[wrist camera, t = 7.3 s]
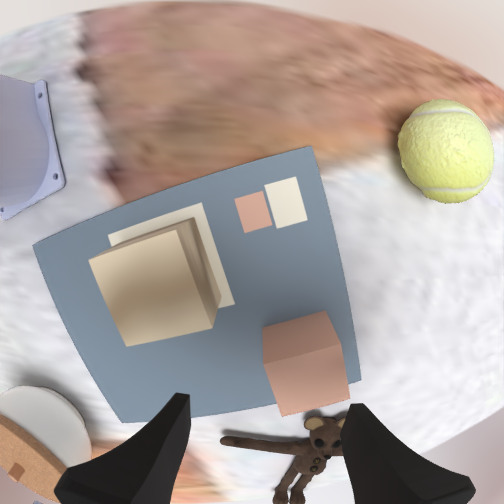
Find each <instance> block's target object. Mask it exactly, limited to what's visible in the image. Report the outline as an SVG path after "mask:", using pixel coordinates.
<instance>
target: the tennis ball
mask: <svg viewBox="0 0 504 504" xmlns="http://www.w3.org/2000/svg"><path fill="white" fill-rule="evenodd" d="M398 138H399V140H398V148H399V150H400V157H401V161H402V168H403V169H404V170H405V172H406V174H407V176H408V178H409V179H410V181H411V182H412V183H413V184H414V185H415V186H417V187H418V188H419V189H420V190H421V191H422V192H423V194H424V195H425V196H426V198H429V199H433V200H436V201H438V202H441V203H442V202H443V203H445V204H446V203H460V202H463V201H466V200H469V199H470V198H472V197H474V196H476V195H477V194H478V193H480V191H481V190H483V188H484V187H485V186H486V184H487V183H488V181H489V179H490V176H491V174H492V170H493V164H494V149H493V144H492V139H491V136H490V134H489V131H488V129H487V127H486V126H485V124H484V123H483V122H482V121H481V119H480V118H479V117H478V116H477V115H476V114H475V113H474V112H473V111H472V110H471V109H469V108H468V107H466V106H464V105H463V104H461V103H458V102H456V101H452V100H444V99H437V100H433V99H432V100H431V101H428V102H426V103H423V104H422V105H420V106H419V107H417V108H416V109H415V110H414V111H413V112H412V114H411V115H410V117H409V118H408V119H407V120H406V121H405V123H404V124H403V126H402V129H401V131H400V132H399V134H398Z"/></svg>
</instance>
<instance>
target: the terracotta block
mask: <svg viewBox="0 0 504 504" xmlns="http://www.w3.org/2000/svg"><path fill="white" fill-rule="evenodd" d="M262 337H263V365H264V368H265V371H266V374H267V377H268V379H269V382H270V385H271V388H272V391H273V394H274V396H275V399H276V402H277V405H278V407H279V410H280V413H281V416H282V417H283V416H287V415H292V414H296V413H300V412H304V411H308V410H312V409H316V408H320V407H323V406H327V405H330V404H334V403H337V402H341V401H344V400H347V399H350V393H349V387H348V381H347V375H346V369H345V363H344V358H343V352H342V347H341V343H340V340H339V338H338V336H337V334H336V332H335V330H334V327H333V325H332V323H331V321H330V319H329V317H328V315H327V312H326V310H324V311H321V312H318V313H314V314H311V315H307V316H304V317H300V318H296V319H293V320H289V321H285V322H282V323H278V324H274V325H270V326H266V327H262Z"/></svg>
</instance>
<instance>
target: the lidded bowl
mask: <svg viewBox="0 0 504 504" xmlns="http://www.w3.org/2000/svg"><path fill="white" fill-rule="evenodd" d="M91 458H92V449H91V443H90V438H89V436H88V433H87V430H86V428H85V422H84V419H83V417H82V416H81V414H80V413H79V411H78V410H77V409H76V408H75V406H74V405H73V404H72V403H71V402H70V401H68V400H67V399H66V398H65V397H64V396H62V395H61V394H59V393H58V392H56V391H54V390H52V389H49V388H46V387H33V386H17V387H13V388H10V389H8V390H6V391H4V392H2V393H0V465H1V466H2V467H3V468H4V469H5V470H6V471H7V472H8V474H7V475H8V476H9V477H10V478H11V479H12V480H13V481H15V482H18V481H19V482H20V483H22V484H23V485H25V486H26V487H28V488H29V489H31V490H32V491H34V492H36V493H37V494H39V495H41V496H43V497H45V498H47V499H49V500H52V501H55V502H58V503H60V502H59V500H58V499H57V497H56V496H55V494H54V488H55V486H56V484H57V483H58V481H59V479H60V477H61V476H62V474H63V473H64V472H65V471H66V469H67V468H68V467H72V466H75V465H78V464H81V463H84V462H87V461H90V460H91Z"/></svg>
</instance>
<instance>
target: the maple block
mask: <svg viewBox="0 0 504 504" xmlns="http://www.w3.org/2000/svg"><path fill="white" fill-rule="evenodd" d="M88 261H89V263H90V266H91V269H92V271H93V274H94V276H95V279H96V281H97V284H98V286H99V288H100V291H101V293H102V295H103V298H104V300H105V302H106V305H107V307H108V309H109V311H110V314H111V316H112V318H113V320H114V322H115V324H116V326H117V329H118V331H119V333H120V335H121V337H122V339H123V341H124V343H125V345H126V347H128V346H133V345H138V344H143V343H148V342H153V341H158V340H163V339H167V338H172V337H177V336H181V335H186V334H190V333H194V332H199V331H203V330H207V329H211V328H213V325H214V321H215V318H216V314H217V311H218V307H219V304H220V300H221V297H222V296H221V293H220V290H219V288H218V285H217V282H216V279H215V276H214V273H213V271H212V268H211V265H210V262H209V259H208V256H207V253H206V250H205V248H204V245H203V242H202V239H201V236H200V233H199V230H198V227H197V224H196V221H195V218H194V217H192V218H189V219H186V220H183V221H180V222H177V223H174V224H171V225H168V226H165V227H162V228H159V229H157V230H154V231H151V232H148V233H145V234H142V235H139V236H136V237H134V238H131V239H128V240H125V241H122V242H120V243H118V244H116V245H114V246H113V247H111V248H109V249H107V250H105V251H103V252H102V253H100V254H98V255H96V256H94V257H93V258H91V259H89V260H88Z"/></svg>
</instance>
